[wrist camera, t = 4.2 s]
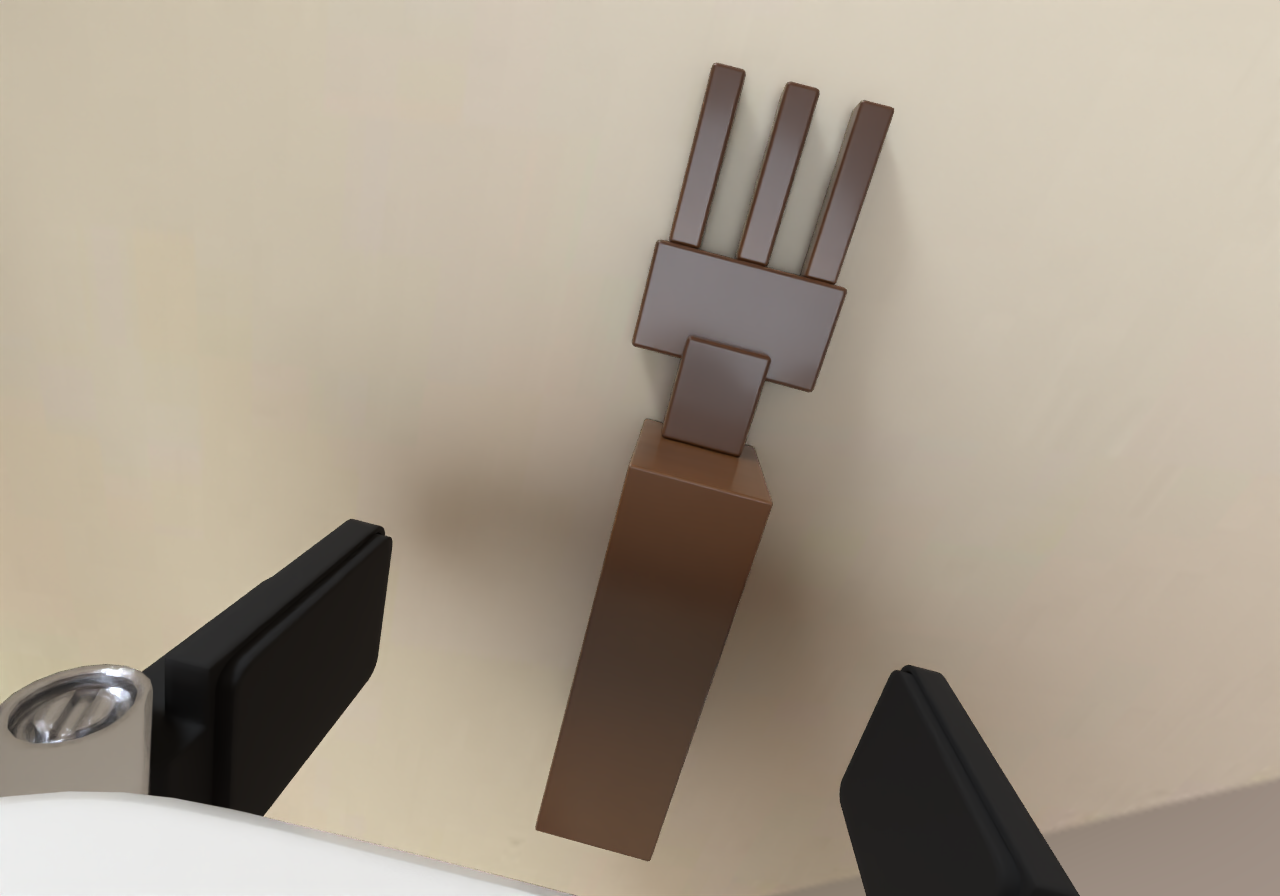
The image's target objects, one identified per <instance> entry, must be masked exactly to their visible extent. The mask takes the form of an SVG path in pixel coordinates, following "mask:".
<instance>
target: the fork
mask: <svg viewBox="0 0 1280 896" xmlns="http://www.w3.org/2000/svg"><path fill="white" fill-rule="evenodd" d="M745 76H746V72H745V71H744V70H743V69H740V68H736V67H732V66H728V65H724V64H720V63H714V64H713V65H712V68H711V72H710V76H709V80H708V84H707V88H706V92H705V96H704V100H703V104H702V108H701V112H700V116H699V120H698V124H697V128H696V132H695V136H694V140H693V144H692V148H691V152H690V156H689V160H688V164H687V168H686V172H685V176H684V180H683V184H682V188H681V192H680V196H679V200H678V204H677V208H676V212H675V216H674V220H673V224H672V228H671V232H670V236H669V241H670V242H668V241H664V240H658V241H657V242H656V245H655V249H654V253H653V257H652V261H651V265H650V269H649V274H648V278H647V282H646V286H645V290H644V294H643V298H642V302H641V306H640V311H639V315H638V319H637V323H636V327H635V331H634V335H633V339H632V345H634V346H635V347H639V348H643V349H647V350H651V351H654V352H658V353H662V354H666V355H669V356H673V357H677V358H681V360H680V363H679V367H678V371H677V374H676V378H675V382H674V385H673V389H672V393H671V397H670V400H669V404H668V408H667V411H666V415H665V419H664V423H661V422H657V421H653V420H649V419H645V420H644V423H643V426H642V429H641V432H640V434H639V437H638V440H637V443H636V446H635V449H634V452H633V454H632V457H631V460H630V463H629V466H628V470H627V474H626V477H625V481H624V485H623V489H622V493H621V497H620V501H619V505H618V508H617V512H616V516H615V520H614V524H613V528H612V532H611V536H610V539H609V543H608V547H607V551H606V555H605V559H604V563H603V567H602V570H601V574H600V578H599V582H598V586H597V590H596V594H595V598H594V601H593V605H592V609H591V613H590V617H589V621H588V625H587V629H586V632H585V636H584V640H583V644H582V648H581V652H580V656H579V660H578V663H577V667H576V671H575V675H574V679H573V683H572V687H571V690H570V694H569V698H568V702H567V706H566V710H565V714H564V718H563V721H562V725H561V729H560V733H559V737H558V741H557V745H556V749H555V752H554V756H553V760H552V764H551V768H550V772H549V776H548V780H547V783H546V787H545V791H544V795H543V799H542V803H541V807H540V811H539V814H538V818H537V822H536V826H535V828H536V830H537V831H541V832H545V833H548V834H552V835H555V836H559V837H563V838H566V839H570V840H573V841H577V842H581V843H584V844H588V845H591V846H595V847H599V848H602V849H606V850H609V851H613V852H617V853H620V854H624V855H628V856H631V857H635V858H638V859H642V860H646V861H650V860H651V857H652V855H653V852H654V849H655V846H656V843H657V840H658V837H659V834H660V831H661V828H662V825H663V823H664V820H665V817H666V814H667V811H668V808H669V805H670V802H671V799H672V796H673V793H674V791H675V788H676V785H677V782H678V779H679V776H680V773H681V770H682V767H683V764H684V762H685V759H686V756H687V753H688V750H689V747H690V744H691V741H692V738H693V735H694V732H695V730H696V727H697V724H698V721H699V718H700V715H701V712H702V709H703V706H704V703H705V700H706V698H707V695H708V692H709V689H710V686H711V683H712V680H713V677H714V674H715V671H716V668H717V666H718V663H719V660H720V657H721V654H722V651H723V648H724V645H725V642H726V639H727V637H728V634H729V631H730V628H731V625H732V622H733V619H734V616H735V613H736V610H737V607H738V605H739V602H740V599H741V596H742V593H743V590H744V587H745V584H746V581H747V578H748V575H749V573H750V570H751V567H752V564H753V561H754V558H755V555H756V552H757V549H758V546H759V543H760V541H761V538H762V535H763V532H764V529H765V526H766V523H767V520H768V517H769V514H770V512H771V509H772V506H773V502H772V499H771V496H770V493H769V490H768V487H767V484H766V481H765V478H764V475H763V472H762V469H761V466H760V463H759V461H758V458H757V455H756V452H755V449H754V447H751V446H747V445H745V442H746V439H747V436H748V433H749V429H750V426H751V423H752V420H753V417H754V414H755V411H756V407H757V404H758V401H759V398H760V395H761V392H762V389H763V385H764V382H765V381H768V382H772V383H775V384H779V385H783V386H787V387H791V388H794V389H798V390H802V391H806V392H812V391H813V390H814V387H815V384H816V381H817V378H818V375H819V372H820V370H821V367H822V364H823V361H824V358H825V355H826V352H827V349H828V346H829V343H830V341H831V338H832V335H833V332H834V329H835V326H836V323H837V320H838V317H839V314H840V312H841V309H842V306H843V303H844V300H845V297H846V294H847V289H846V288H844V287H841V286H837V285H834V284H835V283H836V282H837V279H838V277H839V274H840V271H841V268H842V265H843V262H844V259H845V256H846V253H847V250H848V247H849V244H850V241H851V238H852V235H853V232H854V229H855V226H856V223H857V220H858V217H859V214H860V211H861V208H862V205H863V202H864V200H865V197H866V194H867V191H868V188H869V185H870V182H871V179H872V176H873V173H874V170H875V167H876V164H877V161H878V158H879V155H880V152H881V149H882V146H883V143H884V140H885V137H886V134H887V131H888V128H889V125H890V123H891V120H892V117H893V114H894V108H892V107H889V106H885V105H881V104H878V103H874V102H870V101H866V100H863V101H861V102H860V103H859V104H858V105H857V106H856V107H855V108H854V110H853V111H852V114H851V118H850V121H849V124H848V127H847V130H846V133H845V136H844V140H843V143H842V146H841V149H840V152H839V155H838V158H837V162H836V165H835V168H834V171H833V174H832V177H831V180H830V183H829V187H828V190H827V193H826V196H825V199H824V202H823V205H822V209H821V212H820V215H819V218H818V221H817V224H816V227H815V231H814V234H813V237H812V240H811V243H810V246H809V249H808V253H807V256H806V259H805V262H804V265H803V268H802V271H801V276H798V275H795V274H791V273H787V272H783V271H779V270H775V269H772V268H768V267H765V266H767V265H768V263H769V260H770V257H771V253H772V250H773V247H774V244H775V240H776V237H777V234H778V230H779V227H780V224H781V220H782V217H783V214H784V210H785V207H786V204H787V200H788V197H789V194H790V190H791V187H792V184H793V180H794V177H795V174H796V170H797V167H798V164H799V160H800V157H801V154H802V151H803V147H804V144H805V141H806V137H807V134H808V131H809V127H810V124H811V121H812V117H813V114H814V111H815V107H816V104H817V101H818V97H819V90H818V89H817V88H814V87H810V86H806V85H802V84H798V83H795V82H787V84H786V85H785V87H784V89H783V92H782V94H781V98H780V101H779V105H778V108H777V112H776V115H775V119H774V122H773V126H772V129H771V133H770V136H769V140H768V143H767V147H766V150H765V154H764V157H763V161H762V164H761V168H760V171H759V175H758V179H757V182H756V186H755V189H754V193H753V196H752V200H751V203H750V207H749V210H748V214H747V217H746V221H745V224H744V228H743V231H742V235H741V238H740V242H739V245H738V249H737V252H736V256H735V257H736V259H733V258H730V257H726V256H722V255H718V254H714V253H710V252H707V251H703V250H699V248H700V246H701V242H702V238H703V235H704V231H705V227H706V223H707V220H708V216H709V212H710V208H711V205H712V201H713V197H714V193H715V190H716V186H717V182H718V178H719V174H720V171H721V167H722V163H723V159H724V156H725V152H726V148H727V144H728V141H729V137H730V133H731V129H732V126H733V122H734V118H735V114H736V110H737V107H738V103H739V99H740V95H741V92H742V88H743V84H744V80H745Z"/></svg>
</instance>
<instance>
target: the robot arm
mask: <svg viewBox="0 0 1280 896" xmlns="http://www.w3.org/2000/svg"><path fill="white" fill-rule="evenodd" d="M391 552H392V539H391V537H388V536H385V531H384V528H383V527H381V526H378V525H374V524H370V523H366V522H362V521H359V520H355V519H350V520H348V521H346V522H345V523H343V524H342V525H341V526H339V527H338V528H337V529H335V530H334V531H333V532H331V533H330V534H329V535H327V536H326V537H325V538H323V539H322V540H321V541H319V542H318V543H317V544H315V545H314V546H313V547H311V548H310V549H309V550H307V551H306V552H305V553H303V554H302V555H301V556H299V557H298V558H297V559H295V560H294V561H293V562H291V563H290V564H289V565H287V566H286V567H285V568H283V569H282V570H281V571H279V572H278V573H277V574H275V575H274V576H273V577H271V578H269V579H267V580H265V581H263V582H262V583H261V584H259V585H258V586H256V587H255V588H254V589H252V590H251V591H250V592H248V593H247V594H246V595H244V596H243V597H242V598H240V599H239V600H238V601H236V602H235V603H234V604H232V605H231V606H230V607H228V608H227V609H226V610H224V611H223V612H222V613H220V614H219V615H218V616H216V617H215V618H214V619H212V620H211V621H210V622H208V623H207V624H205V625H204V626H203V627H201V628H200V629H199V630H197V631H196V632H195V633H193V634H192V635H191V636H189V637H188V638H187V639H185V640H184V641H183V642H181V643H180V644H179V645H177V646H176V647H175V648H173V649H172V650H171V651H169V652H168V653H167V654H165V655H164V656H163V657H161V658H160V659H159V660H157V661H156V662H155V663H153V664H152V665H150V666H149V667H148V668H146V669H145V670H144V671H142V672H141V671H139V670H136V669H133V668H130V667H127V666H120V665H109V664H103V665H91V666H82V667H78V668H73V669H69V670H65V671H61V672H57V673H55V674H52V675H49V676H47V677H44V678H42V679H39V680H36V681H34V682H32V683H31V684H29V685H27V686H25V687H24V688H22V689H20V690H18V691H17V692H15V693H13V694H12V695H11V696H10V697H9V698H7V699H6V700H5V701H4V702H3V703H2V704H1V705H0V896H576V895H573V894H569V893H565V892H561V891H557V890H554V889H550V888H546V887H542V886H538V885H534V884H531V883H527V882H523V881H519V880H515V879H511V878H507V877H504V876H500V875H496V874H492V873H488V872H484V871H480V870H476V869H472V868H468V867H464V866H461V865H457V864H453V863H449V862H445V861H441V860H437V859H433V858H429V857H425V856H422V855H418V854H414V853H410V852H406V851H402V850H398V849H394V848H390V847H386V846H382V845H379V844H375V843H371V842H367V841H363V840H359V839H355V838H351V837H347V836H343V835H339V834H335V833H331V832H326V831H322V830H318V829H314V828H309V827H305V826H301V825H297V824H292V823H288V822H284V821H280V820H276V819H271V818H267V817H263V816H264V815H265V813H266V812H267V811H268V810H269V808H270V807H271V806H272V804H273V803H274V802H275V800H276V799H277V798H278V797H279V795H280V794H281V793H282V791H283V790H284V789H285V788H286V786H287V785H288V784H289V782H290V781H291V780H292V778H293V777H294V776H295V775H296V773H297V772H298V771H299V769H300V768H301V767H302V765H303V764H304V763H305V762H306V760H307V759H308V758H309V756H310V755H311V754H312V752H313V751H314V750H315V749H316V747H317V746H318V745H319V743H320V742H321V741H322V740H323V738H324V737H325V736H326V734H327V733H328V732H329V730H330V729H331V728H332V727H333V725H334V724H335V723H336V721H337V720H338V719H339V717H340V716H341V715H342V714H343V712H344V711H345V710H346V708H347V707H348V706H349V704H350V703H351V702H352V701H353V699H354V698H355V697H356V695H357V694H358V693H359V691H360V690H361V689H362V688H363V686H364V685H365V684H366V682H367V681H368V680H369V678H370V677H371V675H372V673H373V671H374V668H375V666H376V663H377V659H378V652H379V644H380V637H381V629H382V621H383V614H384V606H385V598H386V591H387V583H388V575H389V568H390V560H391ZM839 795H840V803H841V807H842V811H843V815H844V818H845V822H846V825H847V829H848V832H849V836H850V839H851V843H852V847H853V850H854V854H855V857H856V861H857V864H858V868H859V871H860V875H861V879H862V882H863V886H864V889H865V892H866V896H1080V895H1079V894H1078V892H1077V891H1076V889H1075V887H1074V886H1073V884H1072V882H1071V881H1070V879H1069V878H1068V876H1067V875H1066V873H1065V871H1064V870H1063V868H1062V866H1061V865H1060V863H1059V861H1058V860H1057V858H1056V857H1055V855H1054V853H1053V852H1052V850H1051V849H1050V847H1049V845H1048V844H1047V842H1046V841H1045V839H1044V837H1043V836H1042V834H1041V832H1040V831H1039V829H1038V828H1037V826H1036V824H1035V823H1034V821H1033V819H1032V818H1031V816H1030V815H1029V813H1028V811H1027V810H1026V808H1025V807H1024V805H1023V803H1022V802H1021V800H1020V799H1019V797H1018V795H1017V794H1016V792H1015V790H1014V789H1013V787H1012V786H1011V784H1010V782H1009V781H1008V779H1007V778H1006V776H1005V774H1004V773H1003V771H1002V769H1001V768H1000V766H999V765H998V763H997V761H996V760H995V758H994V757H993V755H992V753H991V752H990V750H989V748H988V747H987V745H986V744H985V742H984V740H983V739H982V737H981V736H980V734H979V732H978V731H977V729H976V727H975V726H974V724H973V723H972V721H971V719H970V718H969V716H968V715H967V713H966V711H965V710H964V708H963V706H962V705H961V703H960V702H959V700H958V698H957V697H956V695H955V694H954V692H953V690H952V689H951V687H950V685H949V684H948V682H947V681H946V679H945V678H944V676H943V675H942V674H940V673H938V672H934V671H930V670H927V669H923V668H919V667H915V666H911V665H906V666H904V667H903V668H902V669H901V671H898V670H895V671H893V672H892V673H891V675H890V676H889V678H888V681H887V683H886V685H885V687H884V689H883V692H882V694H881V696H880V698H879V700H878V702H877V705H876V707H875V709H874V711H873V713H872V715H871V718H870V720H869V722H868V724H867V726H866V728H865V731H864V733H863V735H862V737H861V739H860V742H859V744H858V746H857V748H856V750H855V752H854V755H853V757H852V759H851V761H850V763H849V765H848V768H847V770H846V772H845V774H844V776H843V778H842V781H841V785H840V794H839Z"/></svg>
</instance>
